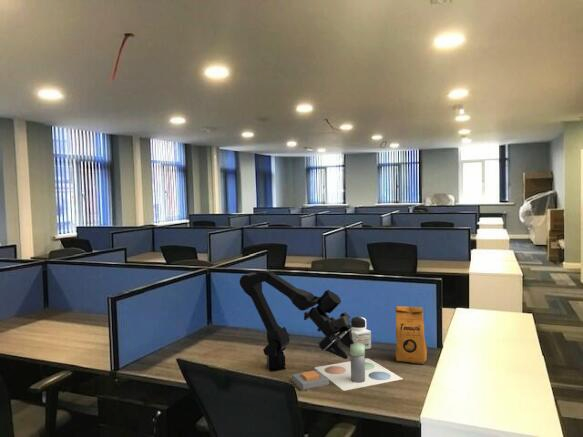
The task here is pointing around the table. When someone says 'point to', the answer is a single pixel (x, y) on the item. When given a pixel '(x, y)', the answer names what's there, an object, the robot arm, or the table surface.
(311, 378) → the button
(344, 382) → the white square board
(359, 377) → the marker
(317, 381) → the button housing
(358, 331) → the container
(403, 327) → the coffee package
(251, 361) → the table surface
